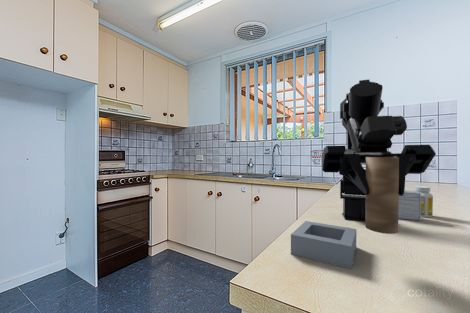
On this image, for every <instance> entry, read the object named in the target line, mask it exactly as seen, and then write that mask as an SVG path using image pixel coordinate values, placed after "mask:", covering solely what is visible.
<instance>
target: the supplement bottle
mask: <svg viewBox="0 0 470 313" xmlns="http://www.w3.org/2000/svg"><path fill="white" fill-rule="evenodd" d="M414 191H417V192H419V193H421V218H432V217H433V212H434V210H433V209H434V208H433V206H434V205H433V204H434V203H433V202H434V196H433V194H432V193H430V192H431V187H430V186H424V185H416V186H414Z"/></svg>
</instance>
